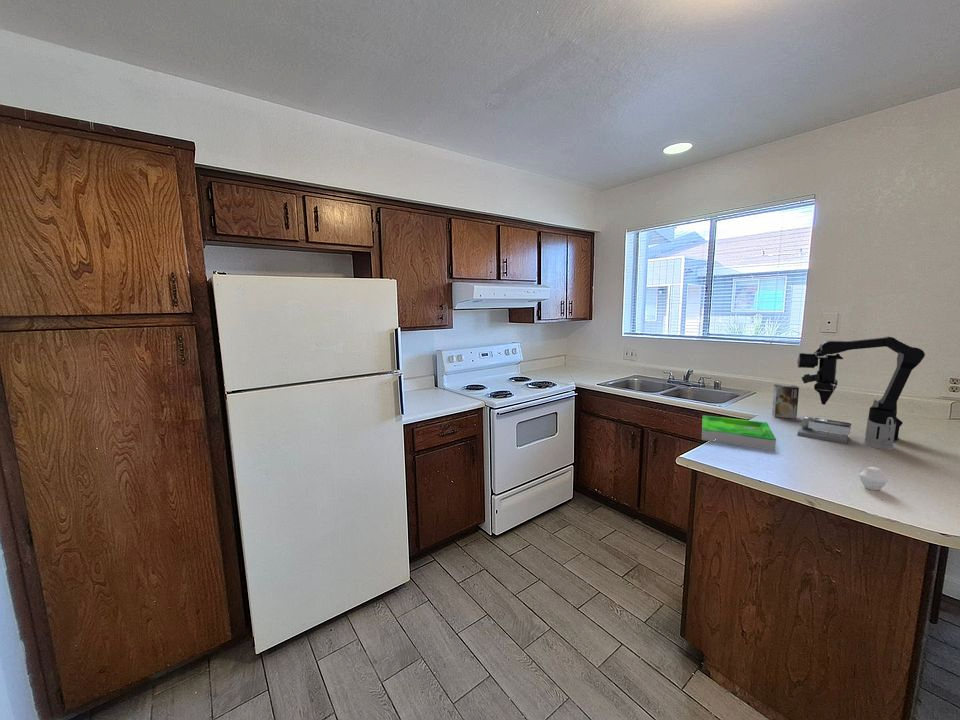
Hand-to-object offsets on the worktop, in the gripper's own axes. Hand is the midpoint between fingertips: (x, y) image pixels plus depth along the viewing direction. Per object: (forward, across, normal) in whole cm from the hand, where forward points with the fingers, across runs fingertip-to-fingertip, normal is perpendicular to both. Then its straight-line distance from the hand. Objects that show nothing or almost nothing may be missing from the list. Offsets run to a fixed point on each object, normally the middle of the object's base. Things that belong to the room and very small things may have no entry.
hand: (824, 402), depth 170 cm
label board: (+13, +11, +1) cm, 17 cm away
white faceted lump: (+13, +64, +18) cm, 68 cm away
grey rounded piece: (+13, +13, +19) cm, 26 cm away
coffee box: (+13, -14, -16) cm, 25 cm away
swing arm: (+11, +11, +2) cm, 15 cm away
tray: (+12, +38, -25) cm, 47 cm away
